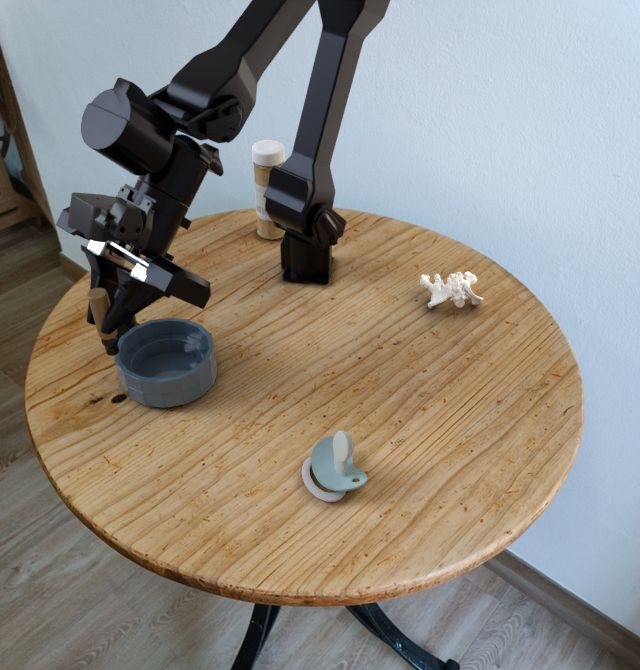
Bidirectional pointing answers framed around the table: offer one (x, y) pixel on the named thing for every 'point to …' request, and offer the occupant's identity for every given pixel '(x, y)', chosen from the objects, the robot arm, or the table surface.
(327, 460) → the pacifier
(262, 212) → the sprinkles bottle
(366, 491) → the table surface
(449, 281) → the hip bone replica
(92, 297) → the black crank handle
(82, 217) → the robot arm
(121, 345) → the basin
